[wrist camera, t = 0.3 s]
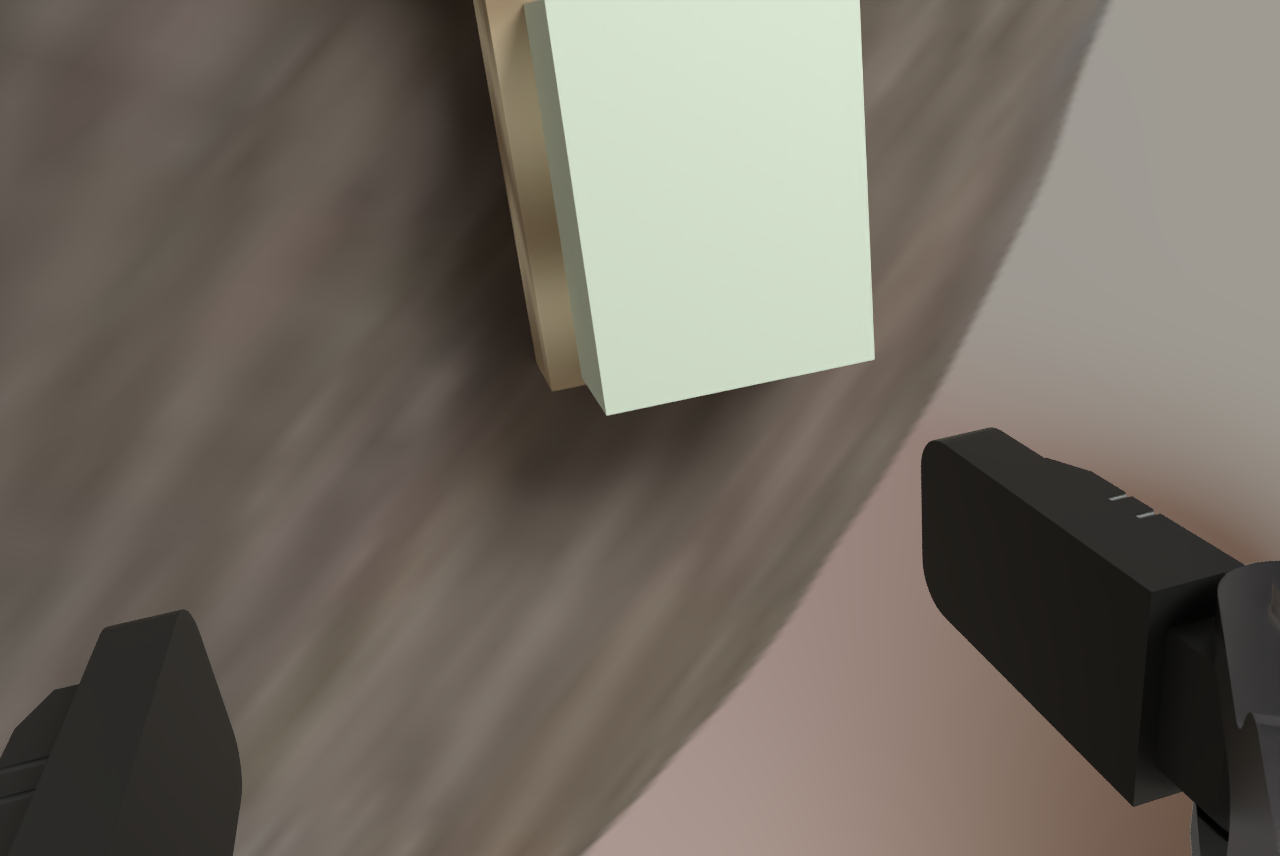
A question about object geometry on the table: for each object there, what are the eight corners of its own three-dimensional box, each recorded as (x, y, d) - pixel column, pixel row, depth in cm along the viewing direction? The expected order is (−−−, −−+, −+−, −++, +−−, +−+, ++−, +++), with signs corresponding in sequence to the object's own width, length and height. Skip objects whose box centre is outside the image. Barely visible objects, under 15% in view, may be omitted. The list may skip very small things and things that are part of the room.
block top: (523, 3, 31) (544, -1, 27) (802, -34, 33) (858, -44, 29) (581, 377, 36) (606, 415, 32) (825, 328, 37) (874, 359, 34)
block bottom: (469, -11, 34) (482, -17, 31) (780, -52, 36) (826, -62, 33) (534, 359, 39) (552, 391, 36) (805, 305, 41) (848, 330, 38)
